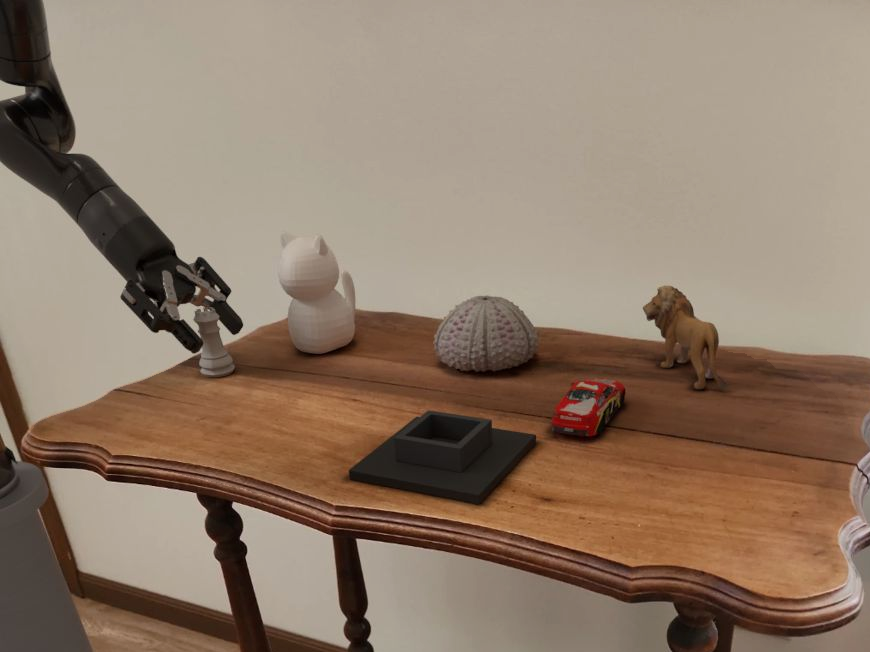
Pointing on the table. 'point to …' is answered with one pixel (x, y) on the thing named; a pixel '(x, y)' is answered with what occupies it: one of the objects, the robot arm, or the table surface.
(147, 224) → the robot arm
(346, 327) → the cat figurine
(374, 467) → the socket pad
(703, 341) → the lion figurine
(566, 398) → the race car
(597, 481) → the table surface
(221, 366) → the rook chess piece
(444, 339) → the sea urchin shell
